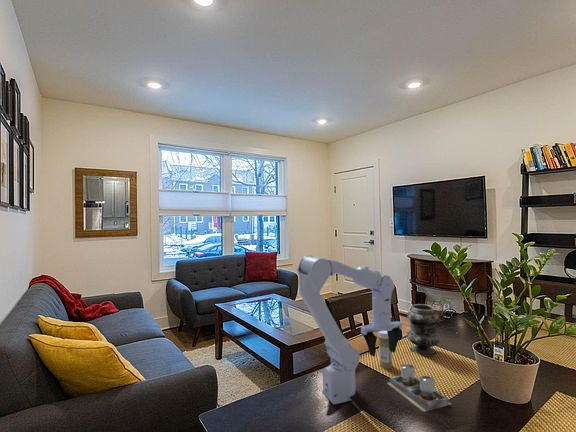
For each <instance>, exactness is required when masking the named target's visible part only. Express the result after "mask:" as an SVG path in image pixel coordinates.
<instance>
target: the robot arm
mask: <svg viewBox="0 0 576 432" xmlns="http://www.w3.org/2000/svg"><path fill="white" fill-rule="evenodd" d="M369 268H370V267H368V266H366V265H362V266H358V267H356V268H354V267H352V266H349V265H347V264H344V263H342V262H340V261H338V260H334V259H328V258H323V257H315V256H312V255H305V256H303V257H302V258H301V259H300V261H299V263H298V267H297V269H296V271H297V274H298V285H299V287H298V288H299V295H300V297H301V298H302V300H303V303H304V304H305V305H306V308H307V309H308V311H309V313H310V314H311V317H312V319H314V321H315V323H316V325H317V327H318V329H319V331H320V332H321V334H322V336H323V338H324V339H325V340H324V345H325V347H326V354H327V356H328V357H329V358H330V363H331V364H329V365H328V366H326V367H324V368H323V369H322V388H321V389H322V390H321V392H322V393H323V394H324V395H325V397H326V398H327V399H328V400H329V401H330V402H331V404H333V405H338V404H342V403H346V402H350V401H353V399H352V398H351V397H353V396H354V395H355V394H356V369H357V366H358V365H359V364H360V363H359V362H360V359H361V358H360V357H361V356H360V353H359V351H358V350H357V349H356V348H355V347H353V345H352V344H351V343H350V341H348V339H347V338H346V337H345V336H344V335H343V333H342V331H341V329H340V328H339V325H338V324H337V322H336V320H335V319H334V317H333V315H332V313H331V312H330V310H329V307H328V306H327V303H325V300H324V298H323V297H322V295H321V293H320V292H321V290H322V288H323V287H324V285H325V284H326V283H327V281H328V279H329V278H330V276H331V277H333V276H334V275H335V274H338V275H341V276H344V277H347V278H351V279H352V282H353V283H354V284H355V285H358V286H360V287H364V288H367V289H369V290H371V297H372V298H371V300H372V301H371V302H372V303H371V304H372V305H371V306H372V307H371V308H372V323H369V324H367V325H363V326H362V325H361V326H360V333H361V334H362V336H363V339H364V340H365V343H366V345H367V348H368V352H369V355H370V356H371V357H376V343H377V339H378V336H376V335H375V333H379V331H387V333H388V339H389V350H390V351H391V352H392V354H393V353H395V352H396V348H397V346H398V342H399V340H400V338H401V337H402V335H403V331H402V330H403V322H401V321H399V320H398V321H397V320H396V321H392V315H391V313H392V309H391V308H392V307H391V306H392V305H391V301H392V297H393V296H392V295H393V294H392V293H393V291H394V289H395V283H394V280H393V279H392V278H391V277H390V276H389V275H387V274H383V273H382V274H381V272H380V271H379V270H375V271H374V270H372V269H369Z"/></svg>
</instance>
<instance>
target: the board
mask: <svg viewBox="0 0 576 432" xmlns="http://www.w3.org/2000/svg"><path fill="white" fill-rule="evenodd" d="M400 381H401V374H400V375H395V376H391V377H389V382H387V383H386V384H387V385H389V387H391V388H392V389H394V390H395V391H396V392H397V393H399V394H400V395H401V396H403V398H405V399H406V400H408V401H409V402H410V403H411V404H413V405H414V406H415V407H416V408H418V409H419V410H420V411H422V412H427V411H432V410H435V409H438V408H439V409H441V408H443V407H446V406H447V407H448V406H450V405H452V402H450V401H449V398H448V397H446V396H445V395H443V394H442V393H440V392H439V391H437V390H436V389H435V397H436V400H435V401H431V402H427V403H426V402H425V401H423V400H422V399H421V398H419V394H420V378H417V377H416V376H415V383H416V386H414V387H410V388H406V387H404V386H403V385H402V384H400Z"/></svg>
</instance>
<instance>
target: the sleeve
mask: <svg viewBox="0 0 576 432" xmlns="http://www.w3.org/2000/svg"><path fill="white" fill-rule="evenodd" d="M419 380H420V394H419V398H421V399H422V400H423V401H425V402H426V403H427V402H431V401H435V400H436V397H435V390H436V380H435V379H434V378H433V377H432V376H428V375H421V376H419Z"/></svg>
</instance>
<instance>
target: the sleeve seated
mask: <svg viewBox="0 0 576 432" xmlns="http://www.w3.org/2000/svg"><path fill="white" fill-rule="evenodd" d="M400 375H401V381H400V384H402V385H403V386H404V387H406V388H410V387H414V386H416V383H415V377H416V372H415V366H414V365H412V364H408V363H402V364H401V365H400Z"/></svg>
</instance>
